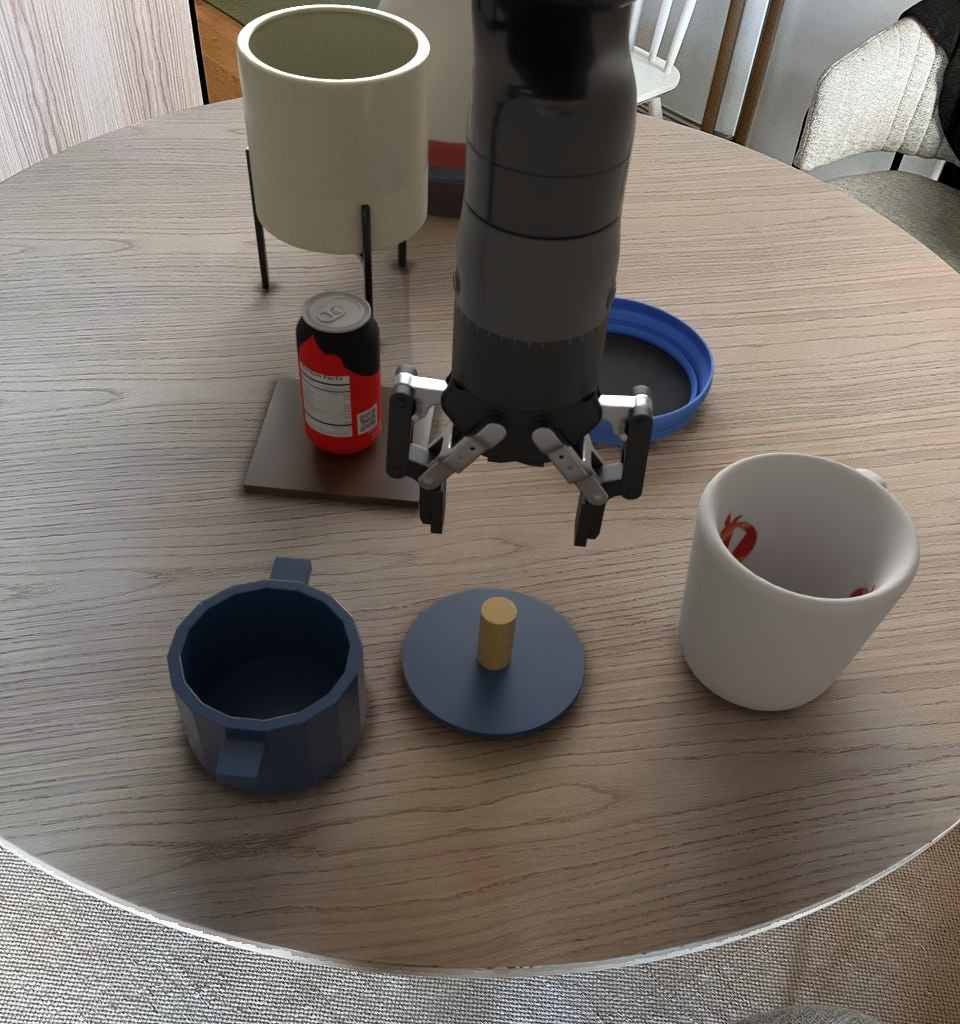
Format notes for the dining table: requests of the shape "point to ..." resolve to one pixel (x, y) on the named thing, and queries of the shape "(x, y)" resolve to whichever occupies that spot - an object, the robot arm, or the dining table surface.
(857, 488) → the cup
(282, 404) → the trivet
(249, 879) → the dining table surface
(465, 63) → the vase
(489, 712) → the pot lid
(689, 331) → the bowl
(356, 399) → the beverage can
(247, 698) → the pot
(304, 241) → the planter
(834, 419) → the dining table surface
